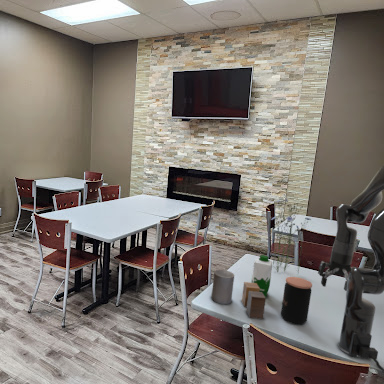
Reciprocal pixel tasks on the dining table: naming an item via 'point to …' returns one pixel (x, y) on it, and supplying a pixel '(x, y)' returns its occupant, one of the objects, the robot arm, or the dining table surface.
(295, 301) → the coffee jar
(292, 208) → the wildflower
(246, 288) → the oak block
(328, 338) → the dining table surface
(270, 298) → the dining table surface
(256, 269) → the milk carton
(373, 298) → the dining table surface
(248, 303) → the walnut block
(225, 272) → the pillar candle
